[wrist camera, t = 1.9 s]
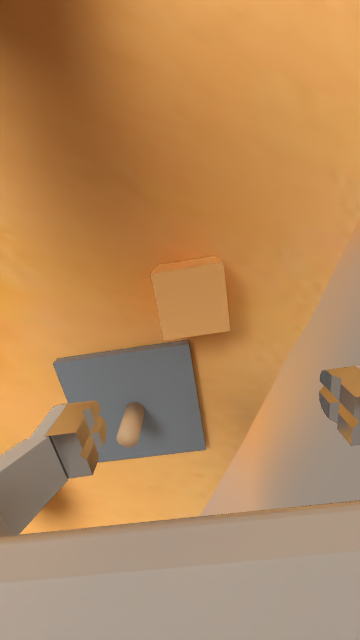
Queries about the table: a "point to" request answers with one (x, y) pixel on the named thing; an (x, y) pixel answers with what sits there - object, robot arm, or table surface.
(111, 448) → the slate board
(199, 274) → the orange tan cube
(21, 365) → the table surface
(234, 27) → the table surface
